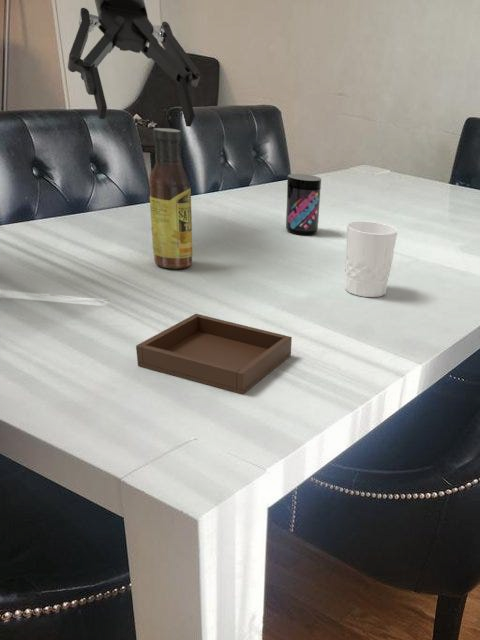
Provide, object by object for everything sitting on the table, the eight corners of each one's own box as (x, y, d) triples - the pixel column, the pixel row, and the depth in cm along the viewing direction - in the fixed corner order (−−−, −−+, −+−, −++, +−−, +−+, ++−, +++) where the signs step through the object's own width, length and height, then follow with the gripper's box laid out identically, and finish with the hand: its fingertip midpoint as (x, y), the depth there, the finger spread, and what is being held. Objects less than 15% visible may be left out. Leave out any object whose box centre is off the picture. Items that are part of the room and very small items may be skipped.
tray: (137, 365, 75) (135, 345, 73) (196, 331, 85) (195, 313, 83) (242, 394, 72) (243, 373, 70) (291, 355, 82) (292, 336, 80)
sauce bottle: (188, 272, 104) (183, 134, 93) (149, 268, 104) (139, 129, 93) (197, 261, 110) (192, 129, 99) (159, 257, 109) (151, 124, 98)
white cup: (360, 301, 102) (367, 235, 96) (332, 285, 107) (337, 222, 101) (398, 295, 106) (407, 232, 100) (370, 281, 111) (377, 220, 105)
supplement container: (279, 231, 133) (281, 175, 127) (295, 225, 138) (298, 172, 132) (307, 237, 131) (311, 182, 125) (323, 232, 136) (327, 178, 130)
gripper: (32, -45, 94) (65, 91, 92) (199, -12, 106) (230, 109, 105) (30, -3, 100) (61, 125, 99) (188, 24, 113) (217, 138, 111)
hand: (148, 117), depth 102 cm, fingers open, 13 cm apart
